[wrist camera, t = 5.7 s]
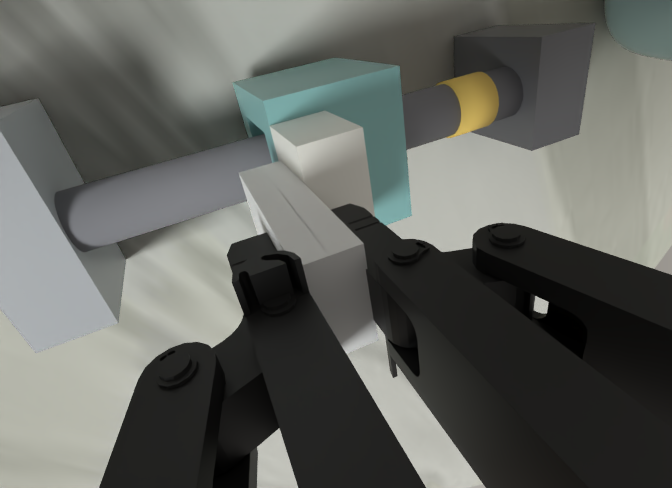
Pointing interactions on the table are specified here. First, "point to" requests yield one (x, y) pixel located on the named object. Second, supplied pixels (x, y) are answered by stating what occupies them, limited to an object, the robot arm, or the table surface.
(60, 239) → the grey slab
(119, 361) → the table surface
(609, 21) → the cup
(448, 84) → the grey rod
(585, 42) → the block
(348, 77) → the sleeve
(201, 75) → the table surface
